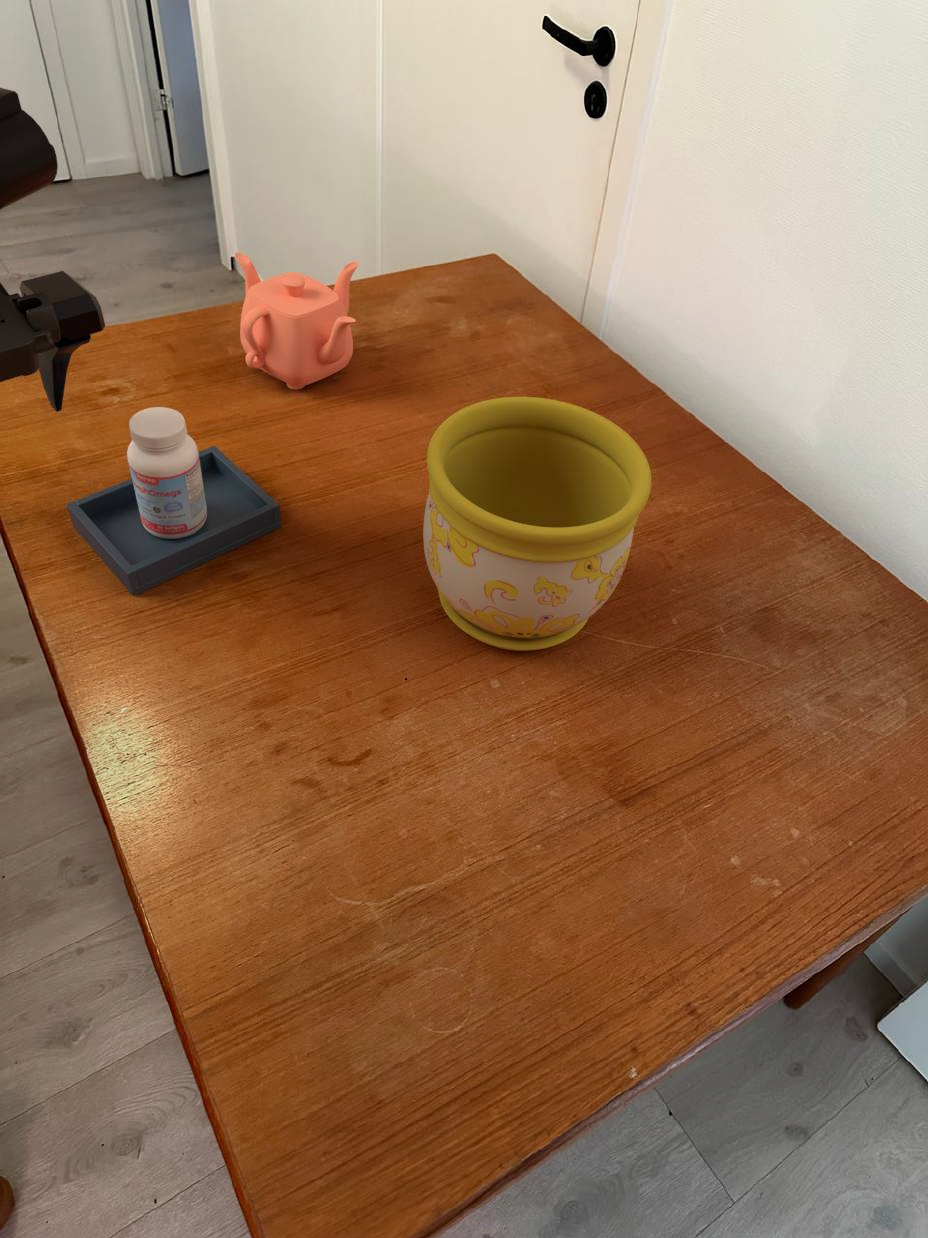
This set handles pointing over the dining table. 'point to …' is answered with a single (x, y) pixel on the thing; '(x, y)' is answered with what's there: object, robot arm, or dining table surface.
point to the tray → (153, 560)
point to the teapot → (296, 325)
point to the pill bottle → (166, 474)
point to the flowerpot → (530, 517)
